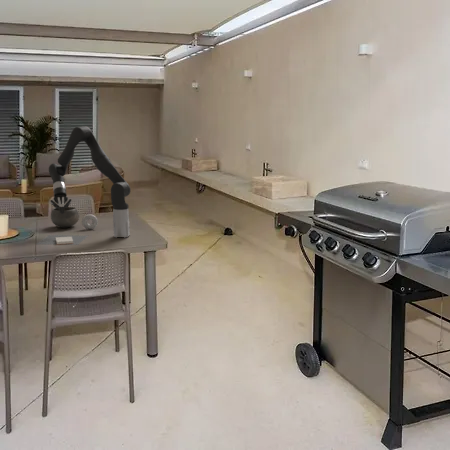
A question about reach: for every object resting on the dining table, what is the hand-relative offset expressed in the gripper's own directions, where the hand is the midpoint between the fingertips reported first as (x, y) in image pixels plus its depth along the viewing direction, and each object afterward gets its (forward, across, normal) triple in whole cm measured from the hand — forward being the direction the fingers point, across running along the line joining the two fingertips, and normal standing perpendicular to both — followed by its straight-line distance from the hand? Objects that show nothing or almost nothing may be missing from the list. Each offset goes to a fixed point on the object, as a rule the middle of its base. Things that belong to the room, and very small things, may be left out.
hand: (62, 213), depth 321 cm
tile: (+17, -1, +2) cm, 17 cm away
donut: (-2, +18, +23) cm, 29 cm away
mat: (+18, -1, +3) cm, 18 cm away
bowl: (-11, +3, +32) cm, 34 cm away
